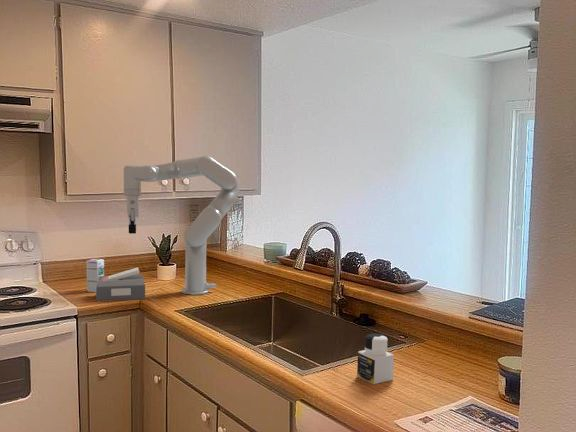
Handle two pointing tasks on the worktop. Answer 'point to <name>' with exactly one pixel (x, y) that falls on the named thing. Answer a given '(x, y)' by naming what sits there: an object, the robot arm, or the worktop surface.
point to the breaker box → (121, 288)
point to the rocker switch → (121, 275)
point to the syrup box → (94, 273)
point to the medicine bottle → (375, 360)
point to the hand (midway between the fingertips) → (132, 233)
